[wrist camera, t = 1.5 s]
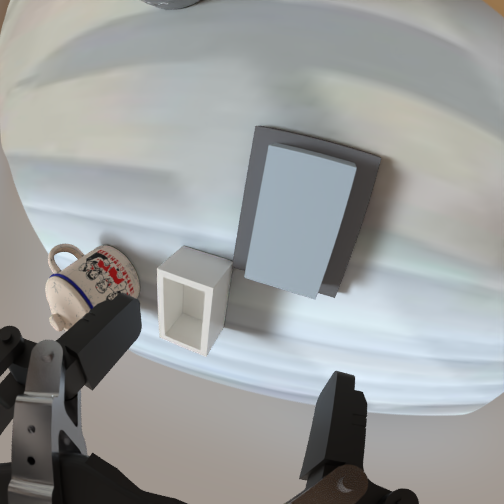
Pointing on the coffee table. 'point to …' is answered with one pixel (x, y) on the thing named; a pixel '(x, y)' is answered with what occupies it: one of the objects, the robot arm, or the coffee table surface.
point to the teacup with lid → (87, 283)
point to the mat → (353, 211)
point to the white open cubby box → (193, 298)
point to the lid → (298, 218)
